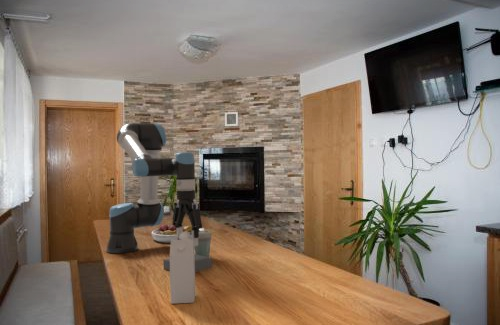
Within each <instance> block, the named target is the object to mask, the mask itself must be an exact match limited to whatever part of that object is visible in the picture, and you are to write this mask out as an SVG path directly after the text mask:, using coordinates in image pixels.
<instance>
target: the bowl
mask: <svg viewBox="0 0 500 325" xmlns="http://www.w3.org/2000/svg"><path fill="white" fill-rule="evenodd" d="M182 227H183V232H185V231H187V232H190V233H191V229H192V225H187V226H186V225H182ZM199 231H206V230H205V228H204V227H202V228H200V229H199ZM151 237H152V238H153V240H155V241H156V242H158V243H164V244H171V240H177V235H176V227H175V226H173V225H172V224H166V223H163V224H160V226H159V228H157V229H154V230H152V231H151Z"/></svg>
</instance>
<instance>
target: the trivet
mask: <svg viewBox="0 0 500 325" xmlns="http://www.w3.org/2000/svg"><path fill="white" fill-rule="evenodd" d="M194 258H195V273H197V272H201V271H204V270H208V269H211V268H213V260H212V259H213V257H210V256H209V257H206V256H202V255H197V254H195V253H194ZM162 260H163V262H162V263H163V270H166V271H169V272H170V257H168V258H164V259H162Z"/></svg>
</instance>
